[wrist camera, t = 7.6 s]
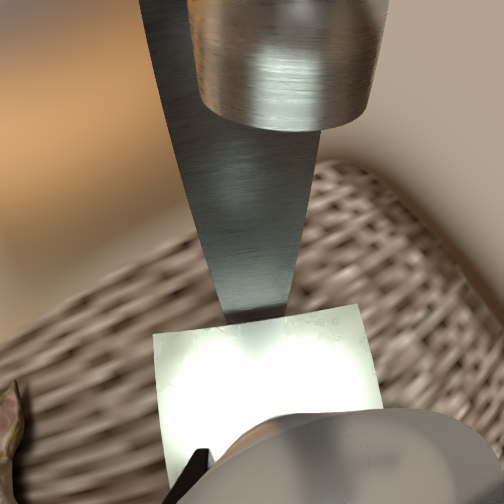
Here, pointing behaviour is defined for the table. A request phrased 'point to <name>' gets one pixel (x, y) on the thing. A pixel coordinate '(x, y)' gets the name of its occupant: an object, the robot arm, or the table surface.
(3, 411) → the ceramic sculpture
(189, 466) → the robot arm
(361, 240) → the table surface
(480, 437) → the cocktail shaker
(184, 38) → the press
